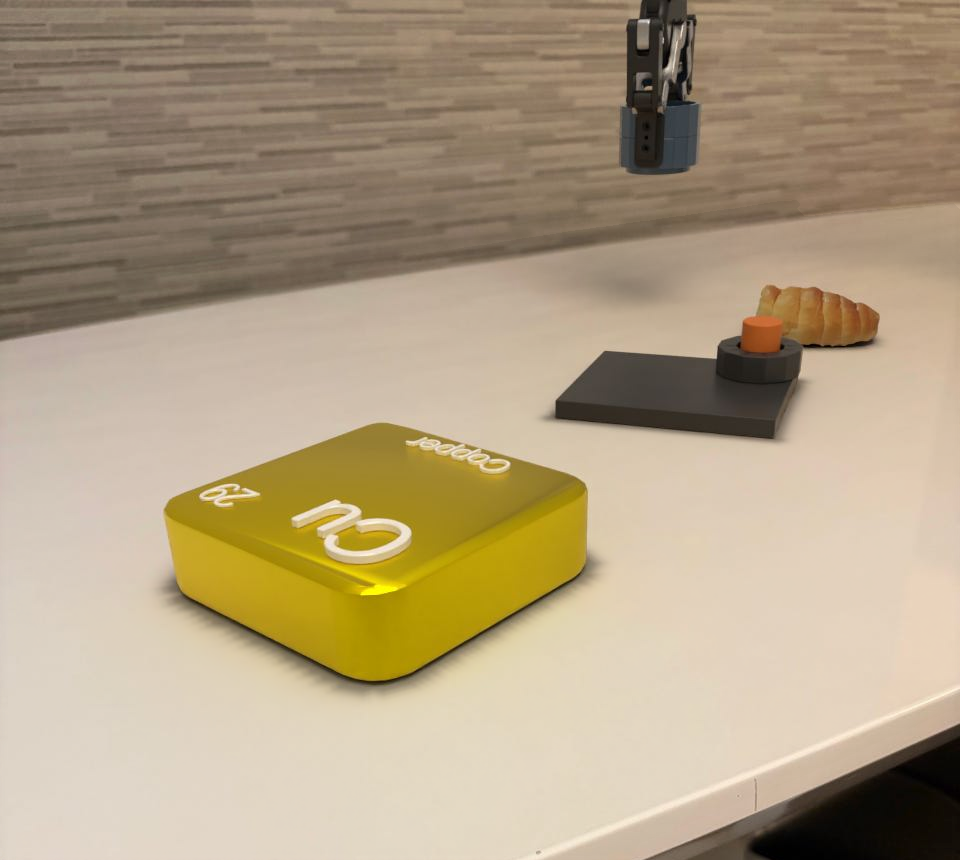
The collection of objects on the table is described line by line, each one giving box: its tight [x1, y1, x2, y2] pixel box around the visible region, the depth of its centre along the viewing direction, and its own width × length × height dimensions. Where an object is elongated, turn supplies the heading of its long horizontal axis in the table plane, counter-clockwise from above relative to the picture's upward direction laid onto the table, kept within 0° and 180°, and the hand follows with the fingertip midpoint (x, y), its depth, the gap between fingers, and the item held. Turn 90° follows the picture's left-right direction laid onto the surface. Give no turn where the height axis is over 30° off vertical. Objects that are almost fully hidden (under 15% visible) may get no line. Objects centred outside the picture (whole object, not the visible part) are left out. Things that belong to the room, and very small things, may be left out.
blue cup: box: [618, 100, 703, 176], centre depth 88 cm, size 6×6×5 cm
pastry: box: [755, 284, 881, 348], centre depth 84 cm, size 9×7×4 cm
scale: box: [554, 335, 804, 439], centre depth 72 cm, size 14×12×3 cm
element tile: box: [162, 422, 589, 682], centre depth 50 cm, size 15×15×5 cm
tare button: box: [740, 315, 783, 353], centre depth 73 cm, size 3×3×2 cm
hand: (658, 160), depth 89 cm, fingers closed on blue cup, 6 cm apart
